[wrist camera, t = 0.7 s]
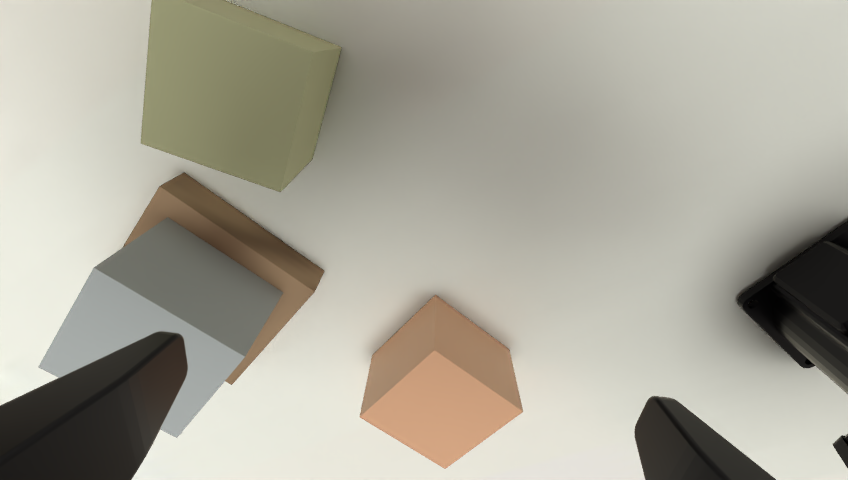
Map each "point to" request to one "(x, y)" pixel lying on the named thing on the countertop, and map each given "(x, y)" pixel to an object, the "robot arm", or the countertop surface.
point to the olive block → (235, 90)
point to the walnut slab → (236, 249)
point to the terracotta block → (441, 385)
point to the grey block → (168, 312)
